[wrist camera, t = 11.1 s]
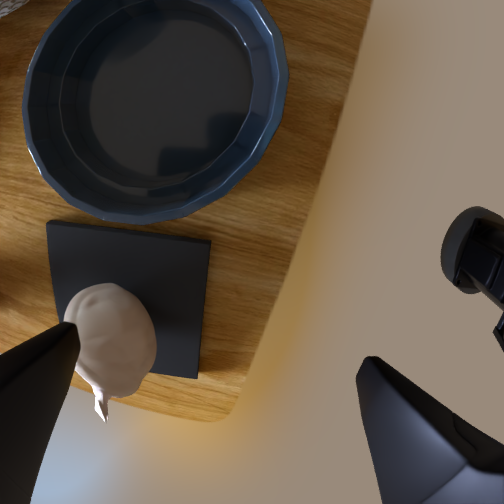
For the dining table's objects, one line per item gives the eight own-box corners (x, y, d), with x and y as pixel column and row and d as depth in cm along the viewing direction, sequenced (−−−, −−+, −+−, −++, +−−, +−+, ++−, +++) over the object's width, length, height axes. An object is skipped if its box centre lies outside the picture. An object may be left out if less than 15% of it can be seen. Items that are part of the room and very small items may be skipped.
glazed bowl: (291, 6, 14) (306, -24, 10) (254, 215, 19) (260, 241, 15) (83, 1, 13) (52, -20, 8) (55, 193, 18) (18, 211, 14)
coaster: (211, 240, 20) (210, 244, 19) (198, 372, 24) (197, 379, 24) (51, 219, 18) (45, 223, 18) (69, 348, 23) (66, 353, 22)
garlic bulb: (78, 321, 21) (34, 392, 14) (95, 255, 19) (35, 321, 11) (152, 356, 22) (129, 437, 15) (180, 296, 20) (157, 382, 13)
